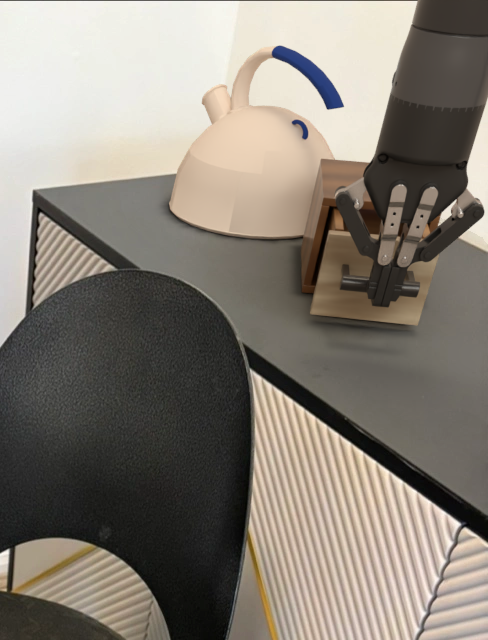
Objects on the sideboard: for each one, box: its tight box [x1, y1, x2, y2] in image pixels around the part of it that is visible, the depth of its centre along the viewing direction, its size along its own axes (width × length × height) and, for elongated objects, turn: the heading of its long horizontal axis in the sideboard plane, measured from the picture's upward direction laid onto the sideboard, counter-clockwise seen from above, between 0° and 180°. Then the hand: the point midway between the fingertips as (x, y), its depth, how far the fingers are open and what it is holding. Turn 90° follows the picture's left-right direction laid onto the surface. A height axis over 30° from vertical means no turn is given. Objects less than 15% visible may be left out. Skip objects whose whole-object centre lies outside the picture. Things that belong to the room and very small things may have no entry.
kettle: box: [168, 45, 345, 240], centre depth 132 cm, size 20×21×18 cm
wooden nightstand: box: [300, 159, 443, 295], centre depth 120 cm, size 15×12×10 cm
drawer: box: [309, 206, 440, 326], centre depth 111 cm, size 18×10×8 cm, turn 167°
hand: (379, 303), depth 102 cm, fingers closed
